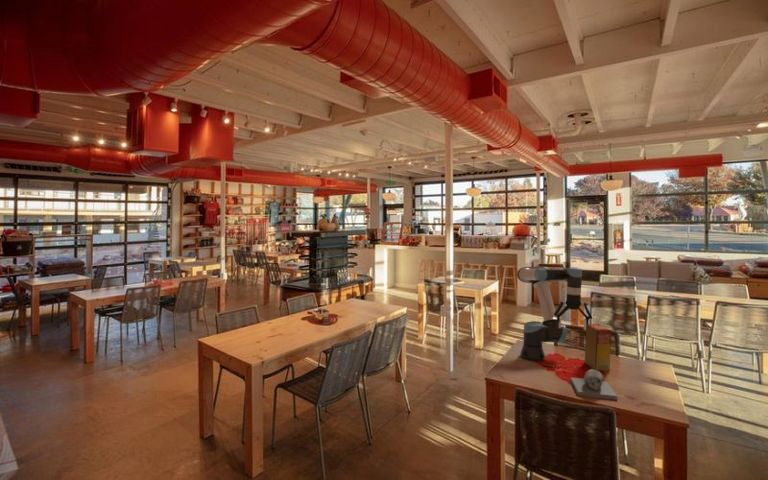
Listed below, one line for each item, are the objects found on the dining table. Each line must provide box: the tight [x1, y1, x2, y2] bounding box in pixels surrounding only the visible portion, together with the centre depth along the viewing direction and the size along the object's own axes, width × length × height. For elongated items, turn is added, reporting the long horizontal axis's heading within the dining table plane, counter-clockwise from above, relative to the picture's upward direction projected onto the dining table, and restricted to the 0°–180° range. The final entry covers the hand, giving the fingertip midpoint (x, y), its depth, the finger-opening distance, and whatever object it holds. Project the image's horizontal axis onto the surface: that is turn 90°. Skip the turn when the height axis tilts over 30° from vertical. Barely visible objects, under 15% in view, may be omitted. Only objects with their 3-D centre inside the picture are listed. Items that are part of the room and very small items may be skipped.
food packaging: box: [584, 323, 612, 372], centre depth 231 cm, size 13×9×25 cm
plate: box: [570, 376, 618, 401], centre depth 200 cm, size 18×18×2 cm
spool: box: [583, 368, 604, 390], centre depth 200 cm, size 14×10×10 cm
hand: (572, 328), depth 221 cm, fingers open, 13 cm apart
